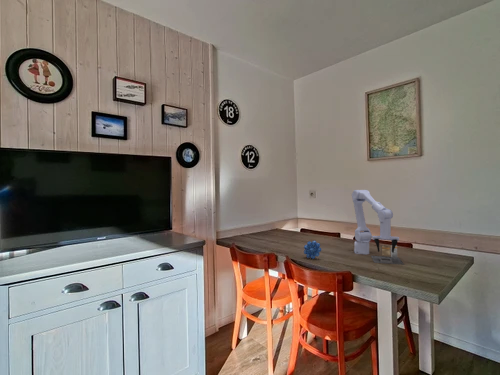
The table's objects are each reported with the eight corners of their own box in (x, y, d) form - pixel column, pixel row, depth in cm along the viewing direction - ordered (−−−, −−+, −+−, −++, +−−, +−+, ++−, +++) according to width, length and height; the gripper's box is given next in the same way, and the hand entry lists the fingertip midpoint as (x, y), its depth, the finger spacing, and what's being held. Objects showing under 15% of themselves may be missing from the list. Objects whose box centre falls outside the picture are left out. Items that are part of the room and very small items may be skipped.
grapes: (323, 258, 172) (322, 239, 171) (320, 260, 166) (320, 241, 165) (305, 256, 177) (305, 238, 177) (302, 258, 171) (302, 240, 171)
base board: (374, 264, 157) (374, 260, 157) (370, 257, 172) (370, 254, 172) (404, 266, 152) (404, 263, 152) (398, 259, 167) (398, 255, 167)
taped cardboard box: (382, 255, 158) (382, 246, 158) (381, 253, 162) (381, 245, 162) (389, 255, 157) (389, 247, 157) (388, 253, 161) (388, 245, 161)
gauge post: (391, 258, 164) (391, 246, 164) (390, 257, 167) (390, 244, 167) (397, 259, 163) (397, 246, 163) (396, 257, 166) (396, 245, 166)
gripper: (373, 230, 158) (373, 252, 158) (400, 231, 153) (400, 254, 153) (371, 228, 164) (371, 249, 165) (397, 229, 160) (397, 251, 160)
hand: (385, 251), depth 159 cm, fingers open, 7 cm apart
